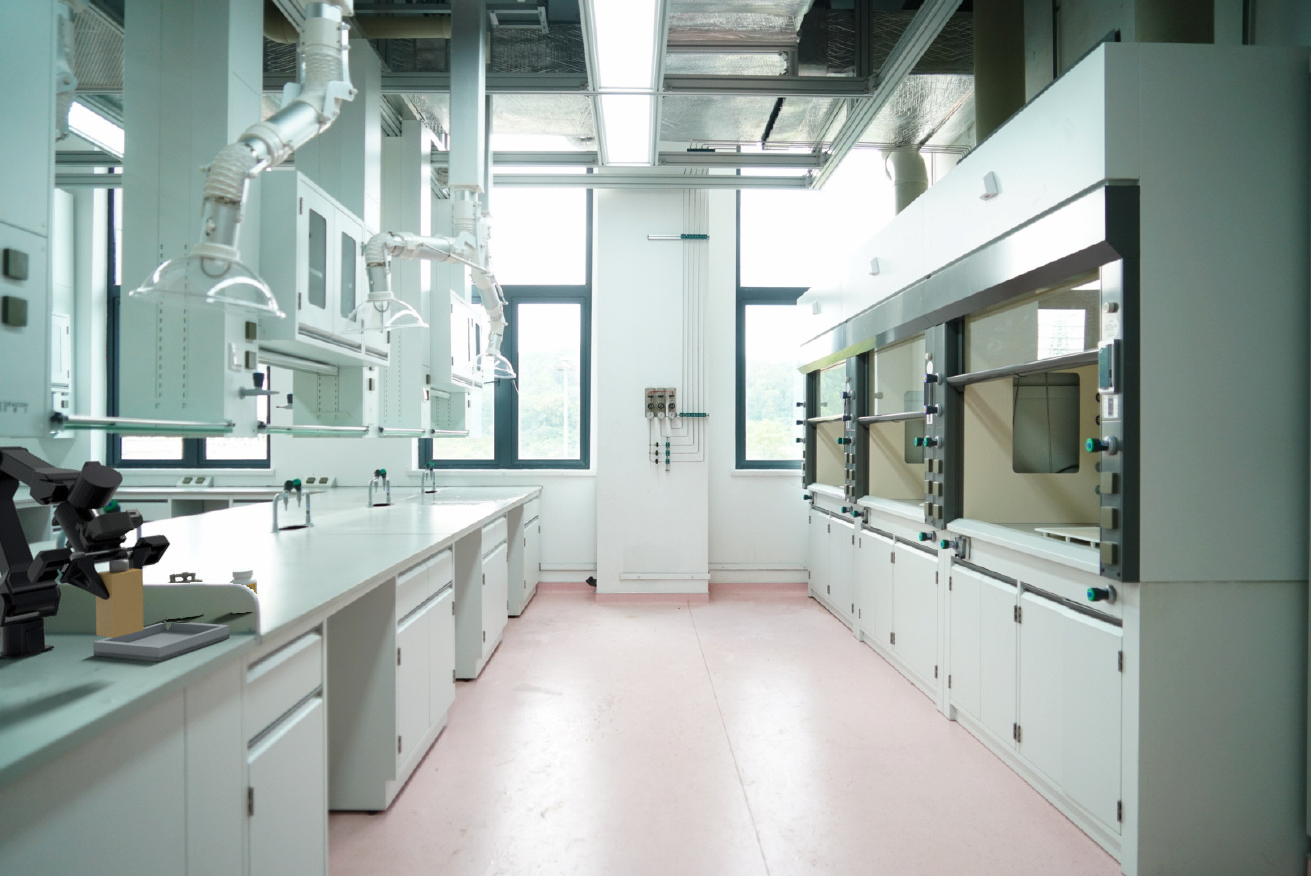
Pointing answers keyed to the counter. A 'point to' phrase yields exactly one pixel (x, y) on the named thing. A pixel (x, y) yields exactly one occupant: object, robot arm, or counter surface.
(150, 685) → the counter surface
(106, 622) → the reagent bottle
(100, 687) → the counter surface
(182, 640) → the tray
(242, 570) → the supplement bottle
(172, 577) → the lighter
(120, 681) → the counter surface
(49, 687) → the counter surface
